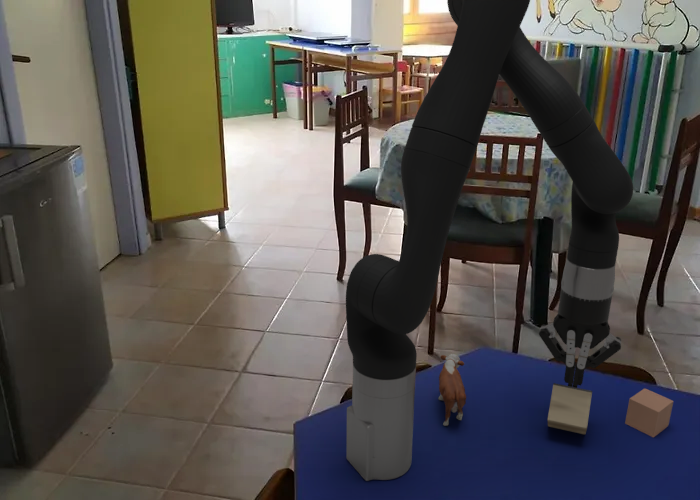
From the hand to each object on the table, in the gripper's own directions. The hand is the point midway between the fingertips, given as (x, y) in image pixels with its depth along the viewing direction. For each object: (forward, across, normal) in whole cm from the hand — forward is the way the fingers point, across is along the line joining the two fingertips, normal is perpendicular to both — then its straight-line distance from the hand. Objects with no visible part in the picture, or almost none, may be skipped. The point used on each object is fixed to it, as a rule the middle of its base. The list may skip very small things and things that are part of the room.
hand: (572, 384), depth 110 cm
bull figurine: (+8, +19, +2) cm, 21 cm away
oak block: (+2, 0, -1) cm, 2 cm away
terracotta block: (+8, -12, -6) cm, 16 cm away
